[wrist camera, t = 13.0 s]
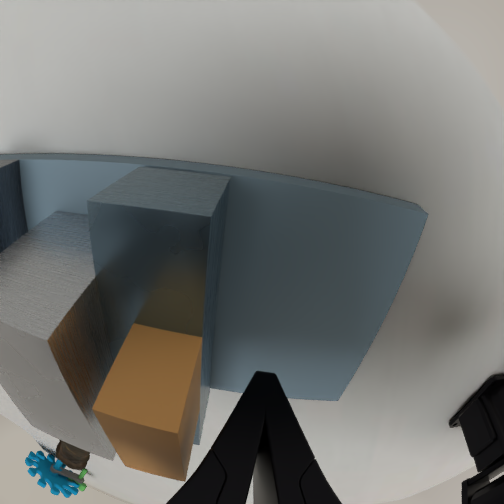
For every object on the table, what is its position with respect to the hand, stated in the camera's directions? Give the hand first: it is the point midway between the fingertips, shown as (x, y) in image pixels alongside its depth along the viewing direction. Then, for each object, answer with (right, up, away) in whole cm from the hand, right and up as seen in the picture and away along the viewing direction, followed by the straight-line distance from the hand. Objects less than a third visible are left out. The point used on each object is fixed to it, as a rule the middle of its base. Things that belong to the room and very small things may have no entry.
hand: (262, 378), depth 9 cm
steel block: (-7, +2, +3) cm, 8 cm away
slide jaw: (-3, +2, +2) cm, 4 cm away
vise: (-4, +3, +4) cm, 6 cm away
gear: (-31, -29, +24) cm, 49 cm away
